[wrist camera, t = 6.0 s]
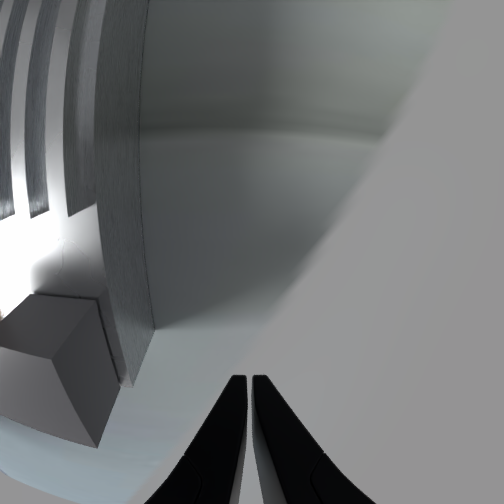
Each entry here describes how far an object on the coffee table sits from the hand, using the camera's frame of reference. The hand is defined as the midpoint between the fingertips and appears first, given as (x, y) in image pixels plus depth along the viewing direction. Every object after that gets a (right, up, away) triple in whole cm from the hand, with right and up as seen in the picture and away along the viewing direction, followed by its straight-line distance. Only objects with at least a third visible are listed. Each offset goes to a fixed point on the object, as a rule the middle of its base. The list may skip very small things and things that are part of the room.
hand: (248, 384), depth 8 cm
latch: (-8, +1, +1) cm, 8 cm away
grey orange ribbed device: (-11, +9, +2) cm, 15 cm away
